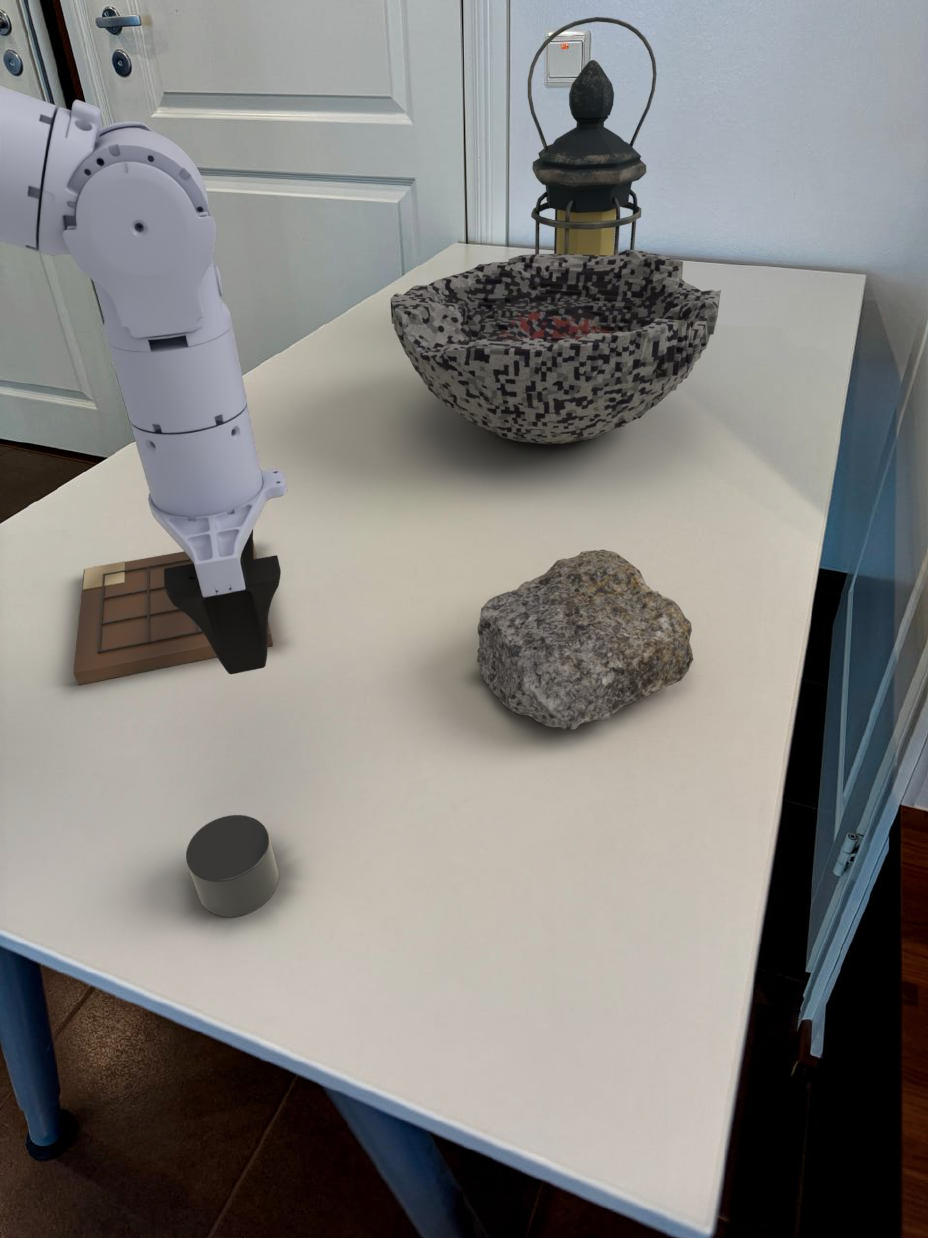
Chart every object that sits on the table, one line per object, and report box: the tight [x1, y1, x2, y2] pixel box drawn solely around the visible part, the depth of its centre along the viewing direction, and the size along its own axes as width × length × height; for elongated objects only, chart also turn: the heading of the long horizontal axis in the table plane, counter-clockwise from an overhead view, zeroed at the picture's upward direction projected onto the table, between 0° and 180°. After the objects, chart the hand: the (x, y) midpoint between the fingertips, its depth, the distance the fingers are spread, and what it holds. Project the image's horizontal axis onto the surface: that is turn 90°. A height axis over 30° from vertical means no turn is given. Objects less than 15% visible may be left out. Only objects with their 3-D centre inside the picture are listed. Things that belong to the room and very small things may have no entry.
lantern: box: [527, 16, 658, 255], centre depth 104 cm, size 14×13×35 cm
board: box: [72, 540, 274, 686], centre depth 69 cm, size 14×14×1 cm
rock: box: [476, 549, 694, 730], centre depth 61 cm, size 13×6×15 cm
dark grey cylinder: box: [185, 814, 279, 918], centre depth 48 cm, size 4×4×3 cm
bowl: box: [389, 248, 722, 445], centre depth 90 cm, size 31×31×15 cm
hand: (241, 627), depth 52 cm, fingers open, 7 cm apart
